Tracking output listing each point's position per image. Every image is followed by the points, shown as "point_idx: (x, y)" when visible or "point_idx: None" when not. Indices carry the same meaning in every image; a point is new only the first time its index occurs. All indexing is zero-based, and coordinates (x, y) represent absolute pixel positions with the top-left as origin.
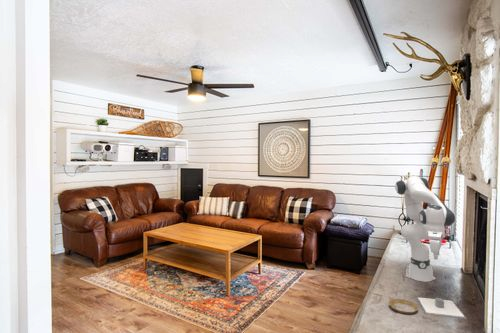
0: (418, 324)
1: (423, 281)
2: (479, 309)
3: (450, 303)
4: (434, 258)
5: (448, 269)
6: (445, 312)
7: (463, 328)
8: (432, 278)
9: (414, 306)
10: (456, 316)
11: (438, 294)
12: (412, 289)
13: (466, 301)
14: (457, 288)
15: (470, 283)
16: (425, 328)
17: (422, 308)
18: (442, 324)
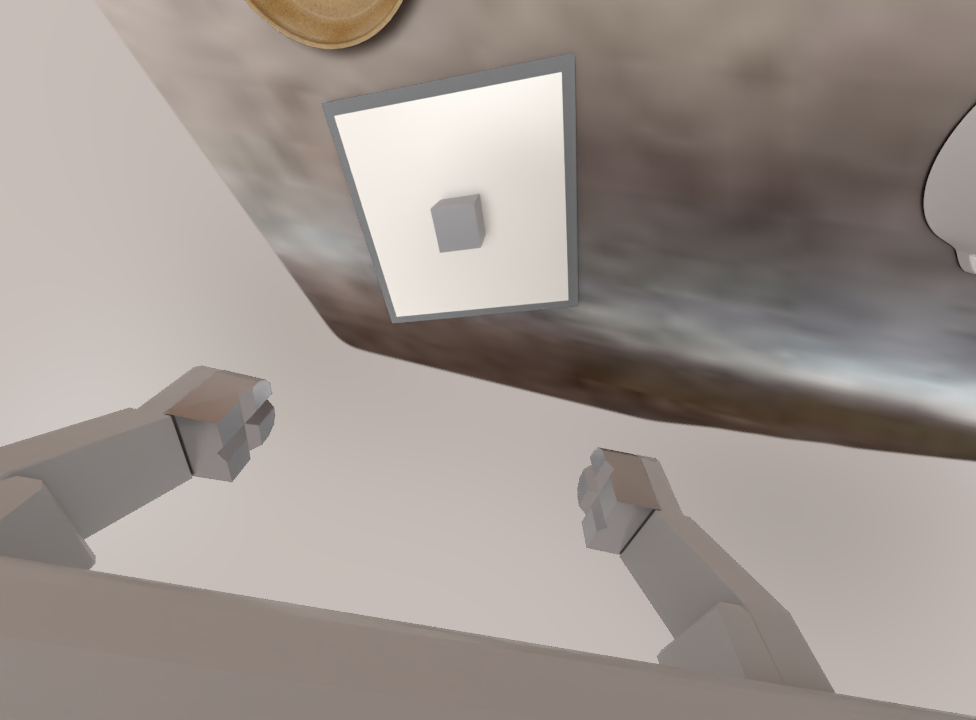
0: (168, 40)
1: (933, 166)
2: (527, 390)
3: (527, 286)
4: (192, 380)
5: None
6: (395, 237)
7: (299, 286)
8: (968, 250)
9: (373, 23)
10: (387, 282)
11: (675, 243)
12: (759, 37)
13: (602, 364)
14: (779, 365)
15: (851, 436)
16: (155, 86)
17: (395, 94)
18: (273, 196)
